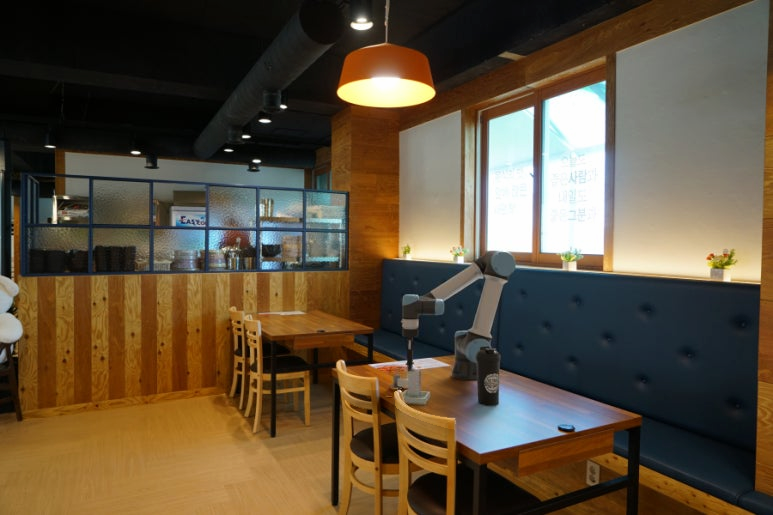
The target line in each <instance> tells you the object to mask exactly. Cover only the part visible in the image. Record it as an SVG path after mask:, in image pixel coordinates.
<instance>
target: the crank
mask: <svg viewBox="0 0 773 515" xmlns="http://www.w3.org/2000/svg"><path fill="white" fill-rule="evenodd" d="M392 383H393V384H392V385H394V386H399V387H403V388H406V389H408V379H407V378H404V377H401V375H400V374H393V382H392Z"/></svg>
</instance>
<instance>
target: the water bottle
mask: <svg viewBox="0 0 773 515" xmlns="http://www.w3.org/2000/svg"><path fill="white" fill-rule="evenodd" d="M476 362H477V380H476V385H477V404H479V405H481V406H485V407H486V406H487V407H494V406H498V405H499V402H500V367H501V366H500V363H501V354H500V353H499V352H498V351H497V348H493V347H491V348H490V347H489V346H482V347H480V351H478V352H477V354H476Z"/></svg>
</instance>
